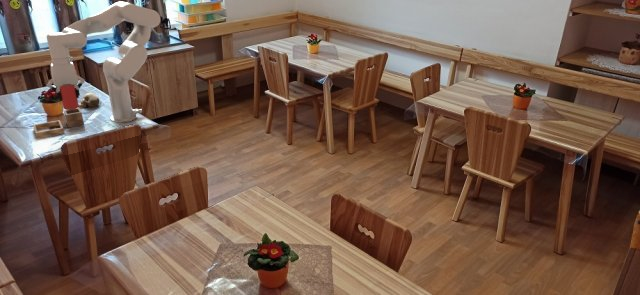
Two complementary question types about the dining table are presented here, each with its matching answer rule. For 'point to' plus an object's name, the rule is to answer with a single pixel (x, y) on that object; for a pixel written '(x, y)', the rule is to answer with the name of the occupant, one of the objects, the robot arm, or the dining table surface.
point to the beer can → (69, 97)
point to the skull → (89, 101)
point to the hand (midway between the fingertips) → (69, 98)
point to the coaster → (76, 130)
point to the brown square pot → (74, 117)
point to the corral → (47, 125)
